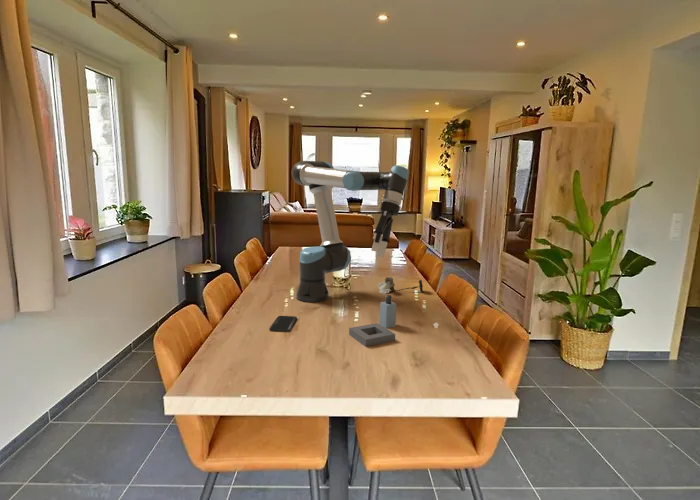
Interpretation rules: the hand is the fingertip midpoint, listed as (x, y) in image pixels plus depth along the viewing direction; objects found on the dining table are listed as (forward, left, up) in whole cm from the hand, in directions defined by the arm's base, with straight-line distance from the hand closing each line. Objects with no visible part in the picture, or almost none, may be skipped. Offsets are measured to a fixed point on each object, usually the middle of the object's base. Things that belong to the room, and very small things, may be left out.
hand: (377, 254), depth 170 cm
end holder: (+18, -13, -26) cm, 35 cm away
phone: (-8, -37, -27) cm, 46 cm away
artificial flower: (-26, +30, -27) cm, 48 cm away
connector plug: (+10, -1, -26) cm, 28 cm away
